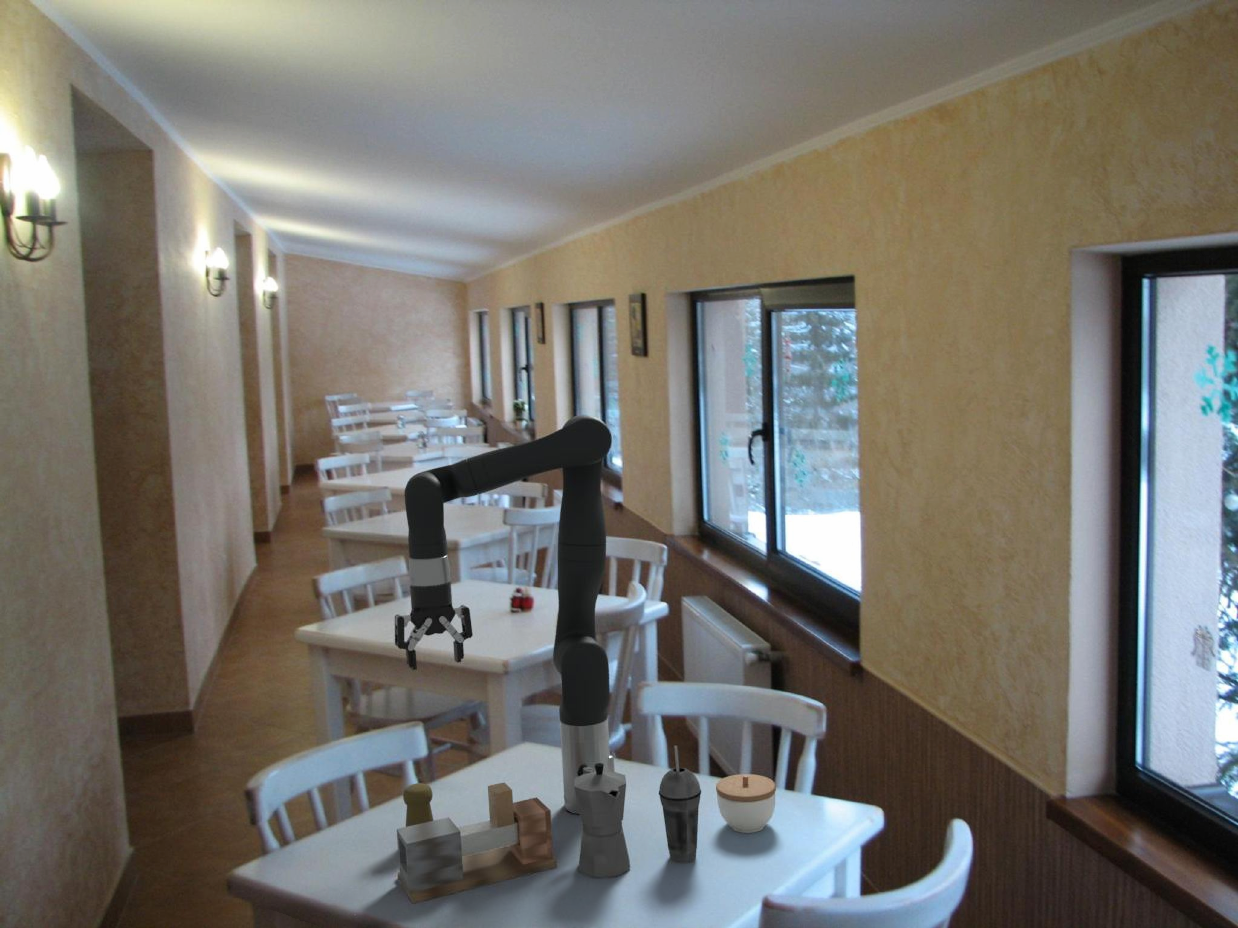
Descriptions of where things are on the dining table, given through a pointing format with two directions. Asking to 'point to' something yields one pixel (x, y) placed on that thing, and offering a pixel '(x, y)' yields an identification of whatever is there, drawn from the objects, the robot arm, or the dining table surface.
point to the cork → (418, 804)
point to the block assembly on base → (442, 870)
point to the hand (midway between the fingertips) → (435, 665)
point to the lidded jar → (746, 801)
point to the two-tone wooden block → (492, 824)
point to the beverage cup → (680, 812)
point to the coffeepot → (601, 822)
